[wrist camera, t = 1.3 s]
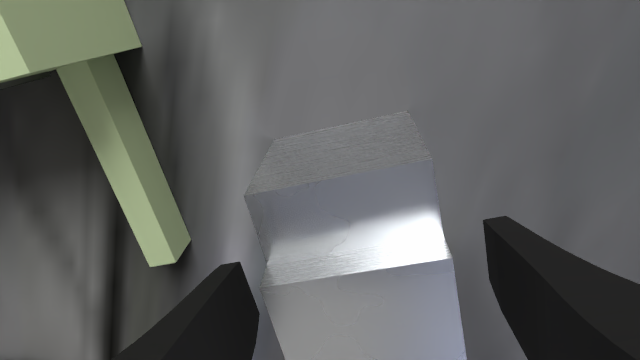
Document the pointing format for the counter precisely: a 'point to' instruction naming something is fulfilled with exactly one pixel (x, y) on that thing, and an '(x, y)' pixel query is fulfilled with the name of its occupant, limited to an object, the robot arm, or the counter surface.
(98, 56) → the sage green bench
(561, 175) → the counter surface
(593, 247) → the counter surface
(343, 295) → the brushed metal block
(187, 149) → the counter surface
